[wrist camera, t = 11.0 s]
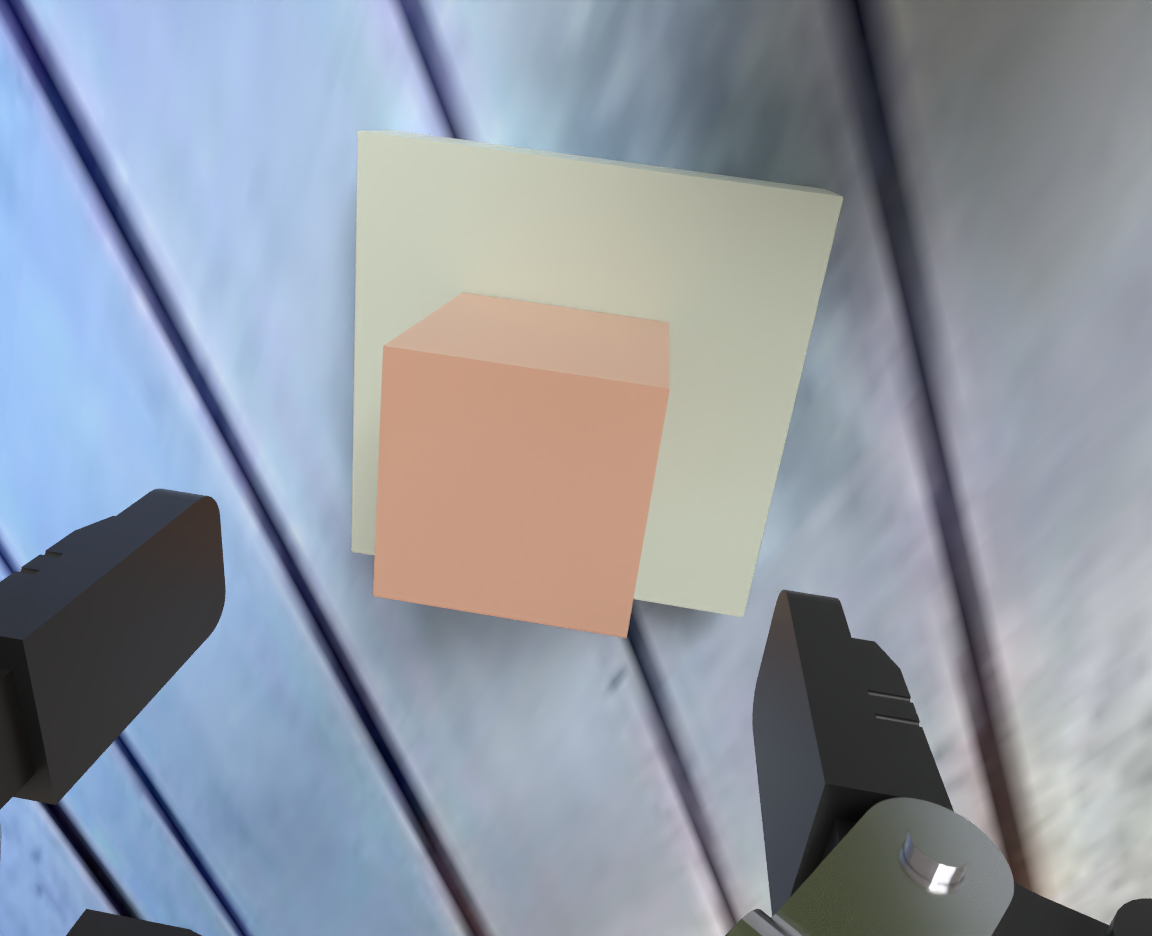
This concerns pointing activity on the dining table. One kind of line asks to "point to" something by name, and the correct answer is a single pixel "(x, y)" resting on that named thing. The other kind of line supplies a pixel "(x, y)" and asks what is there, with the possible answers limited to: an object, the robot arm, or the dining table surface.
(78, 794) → the dining table surface
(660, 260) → the plinth block
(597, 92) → the dining table surface
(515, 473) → the terracotta block
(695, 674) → the dining table surface
